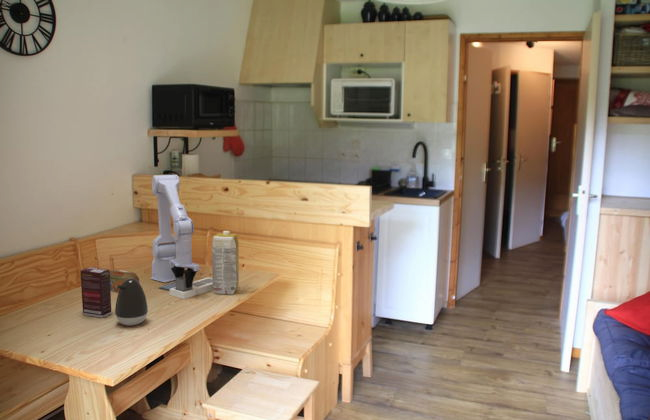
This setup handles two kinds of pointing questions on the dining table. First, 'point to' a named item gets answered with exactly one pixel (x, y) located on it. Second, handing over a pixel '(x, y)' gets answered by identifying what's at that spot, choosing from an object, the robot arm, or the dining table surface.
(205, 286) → the outlet strip
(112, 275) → the tin
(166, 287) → the phone
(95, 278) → the supplement box
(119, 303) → the black egg-shaped piece
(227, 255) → the juice carton
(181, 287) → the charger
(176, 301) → the dining table surface
